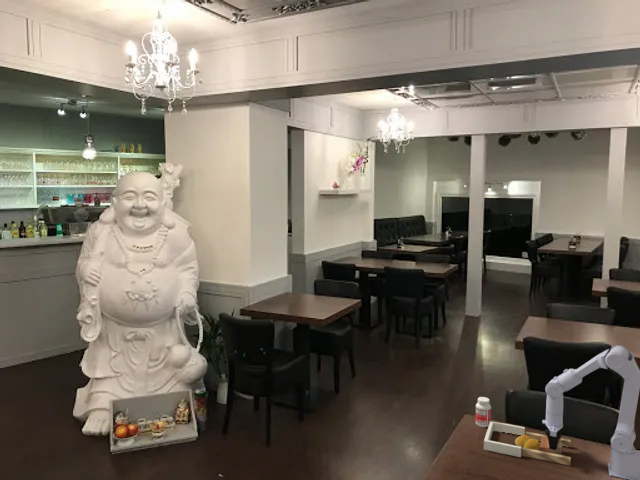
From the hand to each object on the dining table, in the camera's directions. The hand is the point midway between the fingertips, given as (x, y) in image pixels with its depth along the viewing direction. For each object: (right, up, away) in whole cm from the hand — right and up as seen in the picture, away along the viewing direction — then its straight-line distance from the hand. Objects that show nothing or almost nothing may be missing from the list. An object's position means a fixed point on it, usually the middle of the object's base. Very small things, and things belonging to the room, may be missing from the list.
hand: (553, 446), depth 189 cm
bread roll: (-8, -2, +4) cm, 9 cm away
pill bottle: (-19, 0, +23) cm, 30 cm away
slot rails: (-2, -2, +1) cm, 3 cm away
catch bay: (-15, -2, +8) cm, 17 cm away
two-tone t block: (-1, -2, 0) cm, 2 cm away
